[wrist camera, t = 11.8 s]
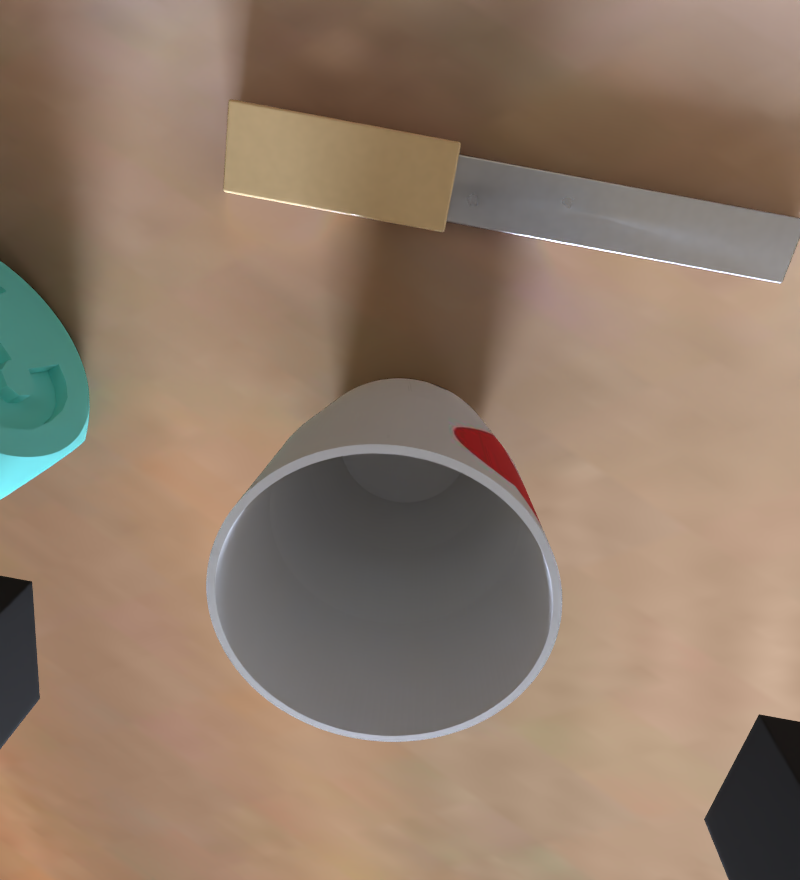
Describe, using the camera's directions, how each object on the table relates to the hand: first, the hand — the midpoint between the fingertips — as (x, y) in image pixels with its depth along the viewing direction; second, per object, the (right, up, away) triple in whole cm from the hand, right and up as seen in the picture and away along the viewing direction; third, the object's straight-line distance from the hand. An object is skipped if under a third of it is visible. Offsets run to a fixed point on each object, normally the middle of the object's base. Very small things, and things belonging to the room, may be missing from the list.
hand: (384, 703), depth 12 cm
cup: (0, +5, +12) cm, 13 cm away
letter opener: (+4, +13, +9) cm, 16 cm away
